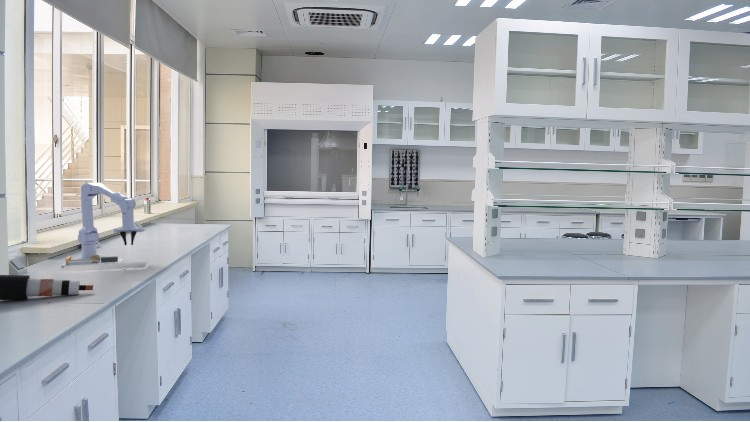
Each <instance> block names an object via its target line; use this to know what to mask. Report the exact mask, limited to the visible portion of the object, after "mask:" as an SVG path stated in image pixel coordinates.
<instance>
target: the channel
mask: <svg viewBox="0 0 750 422" xmlns="http://www.w3.org/2000/svg"><path fill="white" fill-rule="evenodd" d="M122 262H123V258H118V261H116V262H101V259H100V261H99V262H92V261H90V258H72V256H71V255H70V256H67V257H66V258H65V262H64V263H63V264H62V265H61V268H64V267H66V266H81V265H83V266H85V265H103V264H104V265H105V264H120V263H122Z"/></svg>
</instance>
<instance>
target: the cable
mask: <svg viewBox="0 0 750 422" xmlns="http://www.w3.org/2000/svg"><path fill="white" fill-rule="evenodd" d="M80 283H81V281H80V280H67V279H65V280H63V279H54V278H50V279H49V278H31V277H30V275H29V274H28V275H27V274H26V275H25V274H20V275H18V274H0V301H27V300H28V297H29V298H30V297H53V296H78V295H80V294H79V293H80V291H94V285H92V284H91V285H89V284H88V285H87V284H80Z"/></svg>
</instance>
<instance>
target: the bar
mask: <svg viewBox="0 0 750 422" xmlns="http://www.w3.org/2000/svg"><path fill="white" fill-rule="evenodd" d="M118 259H119V256H118V255H115V256H100V260H101V262H116V261H118Z"/></svg>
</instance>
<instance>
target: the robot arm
mask: <svg viewBox="0 0 750 422" xmlns="http://www.w3.org/2000/svg"><path fill="white" fill-rule="evenodd" d="M80 191H81V192H80V193H81V194H80V201H81V202H80V205H81V218H82V222H81V223H82V227H81V228H80V229H79V230H78V235H77V241H78V242H79V244H80V245H81V257H82V258H81V259H90V257H91V256H92V255H98V253H97V252H98V251H97V248H98V247H97V243H98V241H99V240H100V235H99V232H98V228H96V227H95V226H94V225H95V224H94V212H93V210H94V208H93V207H94V206H93V199H94V198H95V197H96V196H98V195H100V194H102V195H103V196H105V197H108V198H110V201H111V202H113V203H115V204H116V205H118V206H119V208H120V211H121V219H122V221H121V223H122V225H121V226H122V227H121V228H113V233H120V234H119V235H120V236H121V238H122V240H123V244H124V246H127V233H130V238H131V239H130V240H131V243H130V244H131V246H133V245H134V241H135V236H136V235H137V233H138V232H139V233H142V232H144V228H143V227H135V222H134V221H135V219H134V218H135V217H134V216H135V215H134V214H135V213H134V209H135V208H136V200H135V199H133V197H132V198H131V197H130V198H129V197H127V196H126V195H123V194H122V193H121V192H120V191H117V192H116V191H115V192H114V191H112V190H111V189H109V188H108V187H106V186H105V184H104V183H102V182H99V181H98V182H88V183H87V182H84V183H83V184H82V185H81V186H80Z"/></svg>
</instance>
